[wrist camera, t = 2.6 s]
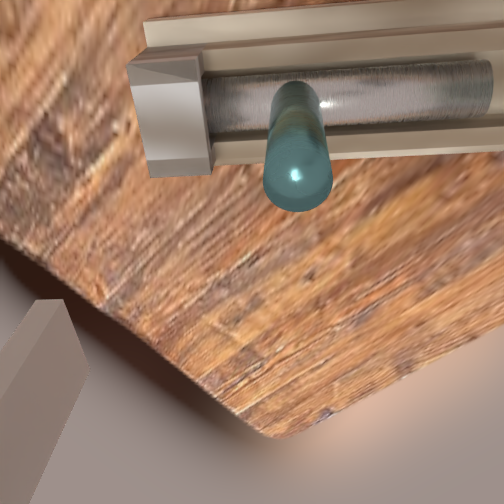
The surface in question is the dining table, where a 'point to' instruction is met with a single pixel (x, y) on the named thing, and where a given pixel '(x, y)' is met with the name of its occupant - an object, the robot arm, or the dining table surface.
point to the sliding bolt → (337, 113)
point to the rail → (309, 59)
